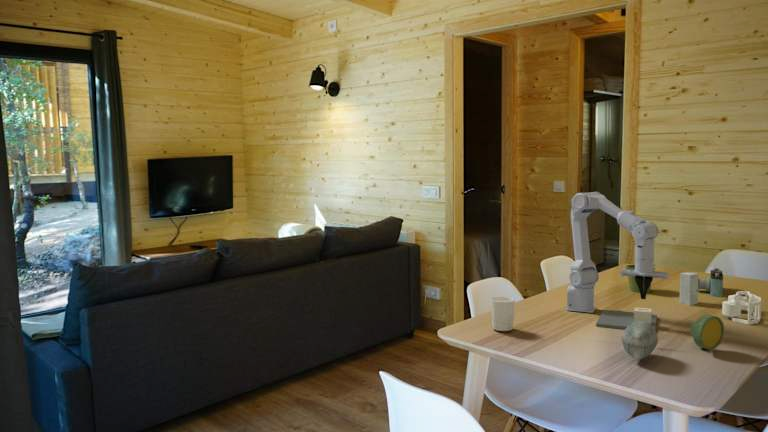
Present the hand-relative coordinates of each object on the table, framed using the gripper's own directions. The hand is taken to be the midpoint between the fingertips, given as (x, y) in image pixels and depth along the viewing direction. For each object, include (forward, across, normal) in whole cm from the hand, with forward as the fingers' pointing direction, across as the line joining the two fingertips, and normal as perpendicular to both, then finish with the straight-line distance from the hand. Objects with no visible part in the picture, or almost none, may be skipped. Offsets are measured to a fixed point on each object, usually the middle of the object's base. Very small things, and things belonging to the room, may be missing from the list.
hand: (643, 298), depth 194 cm
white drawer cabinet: (+8, 0, 0) cm, 8 cm away
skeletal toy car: (+10, +31, +27) cm, 42 cm away
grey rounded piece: (+10, +1, -30) cm, 31 cm away
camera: (+10, +22, +61) cm, 65 cm away
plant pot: (+10, -4, +51) cm, 52 cm away
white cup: (+10, -42, -22) cm, 48 cm away
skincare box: (+10, +14, +38) cm, 42 cm away
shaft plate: (+9, -5, +3) cm, 11 cm away
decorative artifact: (+10, +17, -16) cm, 25 cm away
